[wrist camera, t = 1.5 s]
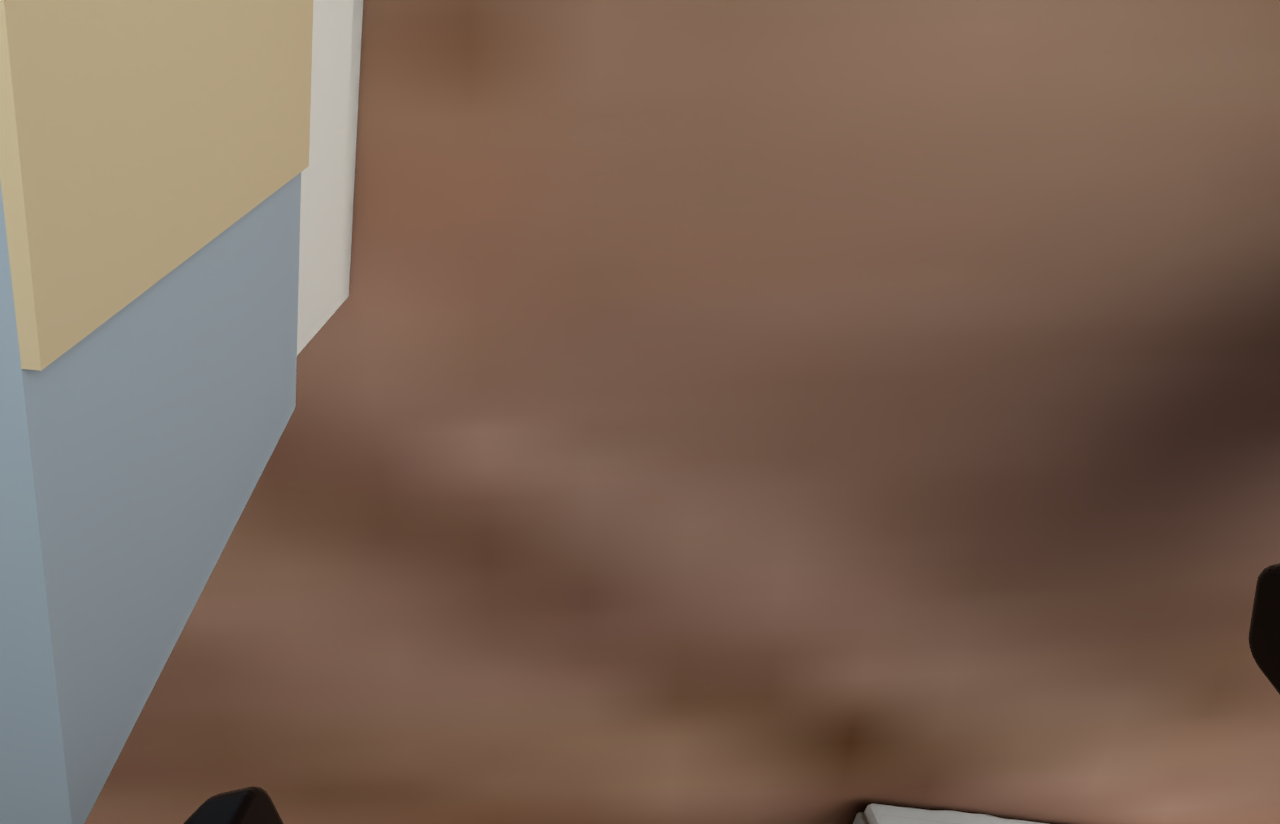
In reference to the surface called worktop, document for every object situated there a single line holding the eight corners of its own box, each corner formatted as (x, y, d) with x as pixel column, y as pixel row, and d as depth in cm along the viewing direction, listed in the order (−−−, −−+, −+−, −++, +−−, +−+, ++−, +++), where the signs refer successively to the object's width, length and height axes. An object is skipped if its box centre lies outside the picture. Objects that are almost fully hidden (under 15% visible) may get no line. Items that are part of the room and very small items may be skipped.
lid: (258, -404, 9) (324, -386, 10) (254, 403, 13) (302, 407, 13) (-472, -1796, 2) (-164, -1636, 2) (-19, 846, 6) (89, 843, 6)
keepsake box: (374, -235, 15) (264, -396, 10) (349, 296, 19) (259, 398, 13) (-118, -353, 14) (-562, -612, 8) (-40, 238, 18) (-311, 324, 12)
